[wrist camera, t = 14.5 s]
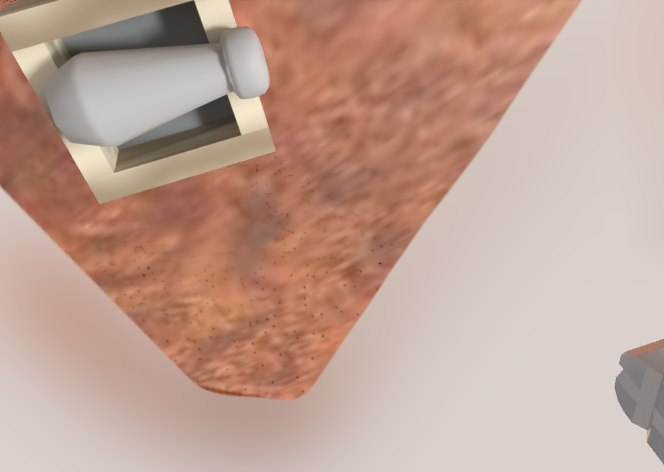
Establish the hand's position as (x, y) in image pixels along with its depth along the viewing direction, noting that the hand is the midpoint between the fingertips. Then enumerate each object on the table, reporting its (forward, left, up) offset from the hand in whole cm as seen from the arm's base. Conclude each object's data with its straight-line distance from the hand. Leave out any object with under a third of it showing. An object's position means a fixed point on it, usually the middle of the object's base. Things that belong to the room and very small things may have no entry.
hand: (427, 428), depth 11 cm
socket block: (+2, -8, -35) cm, 36 cm away
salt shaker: (+1, -14, -29) cm, 32 cm away
